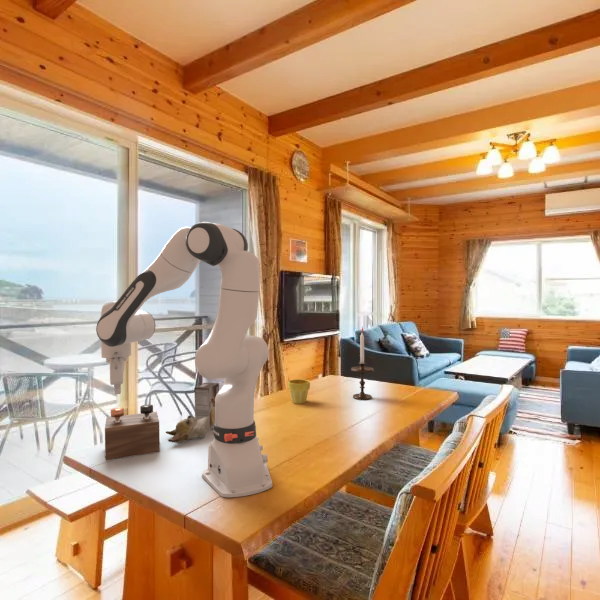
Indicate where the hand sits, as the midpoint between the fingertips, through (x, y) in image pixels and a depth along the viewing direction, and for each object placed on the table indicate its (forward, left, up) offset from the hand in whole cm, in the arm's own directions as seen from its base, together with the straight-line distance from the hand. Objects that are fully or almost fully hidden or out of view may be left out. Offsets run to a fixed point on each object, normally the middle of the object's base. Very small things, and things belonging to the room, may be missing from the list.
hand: (117, 393), depth 132 cm
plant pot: (+30, -77, -19) cm, 85 cm away
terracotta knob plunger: (0, 0, -18) cm, 18 cm away
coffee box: (+13, -31, -19) cm, 39 cm away
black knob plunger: (0, -9, -18) cm, 20 cm away
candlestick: (+24, -108, -19) cm, 113 cm away
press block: (0, -4, -19) cm, 20 cm away
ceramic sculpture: (+2, -23, -20) cm, 30 cm away
